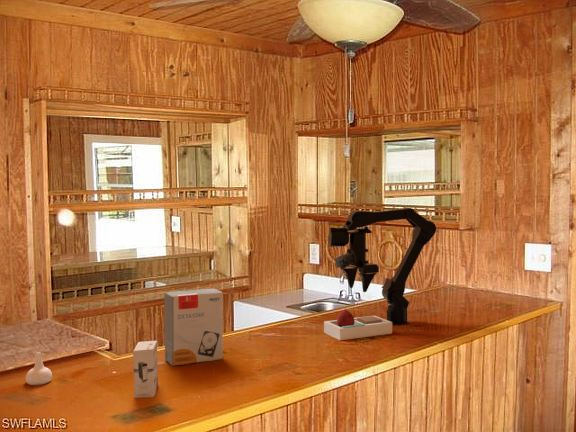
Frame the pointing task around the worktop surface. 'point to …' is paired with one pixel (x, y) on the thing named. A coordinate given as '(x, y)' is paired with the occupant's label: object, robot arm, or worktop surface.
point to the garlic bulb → (38, 373)
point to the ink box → (145, 369)
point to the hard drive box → (193, 326)
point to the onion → (345, 318)
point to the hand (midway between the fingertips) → (357, 289)
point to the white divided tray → (359, 328)
